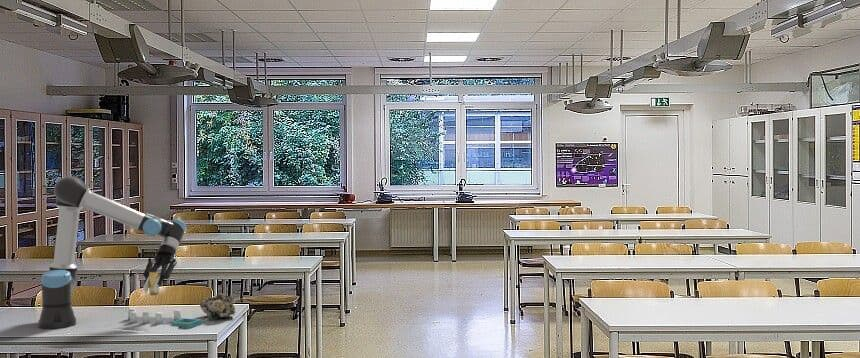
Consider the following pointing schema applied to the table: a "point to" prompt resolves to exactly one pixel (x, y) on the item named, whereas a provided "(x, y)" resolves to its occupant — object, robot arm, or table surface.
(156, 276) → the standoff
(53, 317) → the robot arm
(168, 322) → the board
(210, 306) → the mineral specimen
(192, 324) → the tray
